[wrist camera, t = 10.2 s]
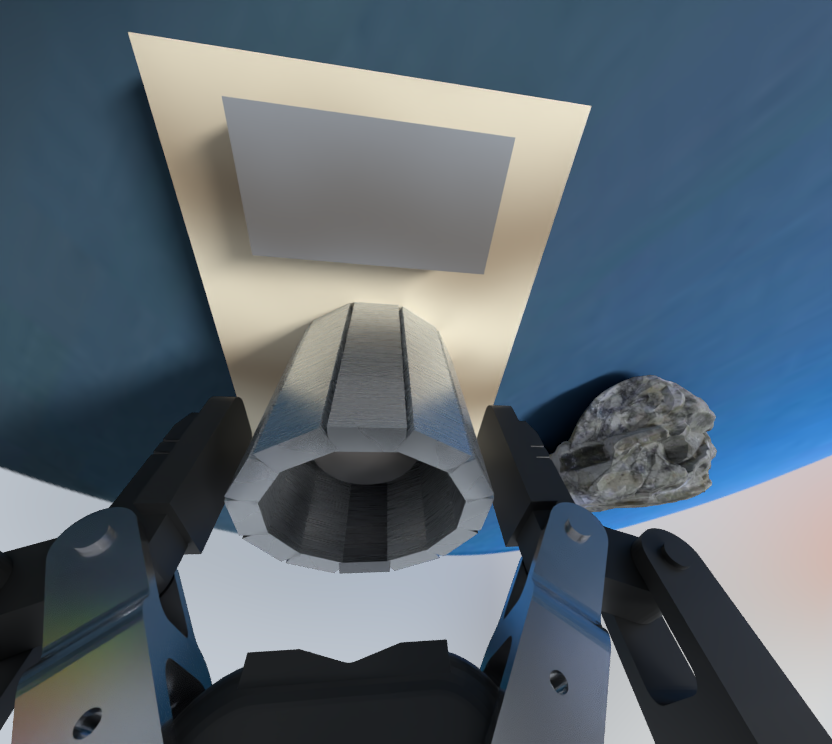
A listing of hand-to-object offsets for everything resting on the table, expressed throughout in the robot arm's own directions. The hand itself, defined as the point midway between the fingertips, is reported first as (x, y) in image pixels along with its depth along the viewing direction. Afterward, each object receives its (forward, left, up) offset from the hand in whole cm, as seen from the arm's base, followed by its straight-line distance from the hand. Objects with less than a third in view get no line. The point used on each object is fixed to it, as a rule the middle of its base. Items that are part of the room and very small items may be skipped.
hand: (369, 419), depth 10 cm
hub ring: (0, 0, -3) cm, 3 cm away
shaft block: (0, 0, -5) cm, 5 cm away
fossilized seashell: (+6, +13, -5) cm, 15 cm away
